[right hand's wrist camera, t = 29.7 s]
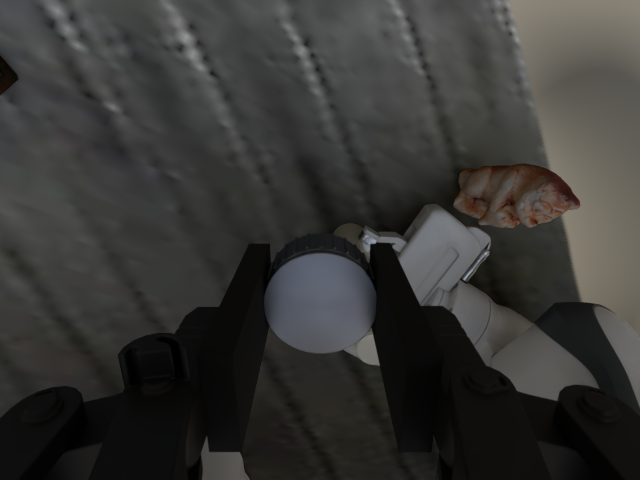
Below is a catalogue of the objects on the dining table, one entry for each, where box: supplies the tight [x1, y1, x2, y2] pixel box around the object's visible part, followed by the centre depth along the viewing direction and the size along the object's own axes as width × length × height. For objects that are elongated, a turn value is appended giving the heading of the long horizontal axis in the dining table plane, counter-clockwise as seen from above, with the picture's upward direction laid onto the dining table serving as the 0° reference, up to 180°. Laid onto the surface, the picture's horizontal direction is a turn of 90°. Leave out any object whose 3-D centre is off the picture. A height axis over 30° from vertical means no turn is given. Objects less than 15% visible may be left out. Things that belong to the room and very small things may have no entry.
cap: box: [264, 232, 377, 354], centre depth 14 cm, size 4×4×2 cm
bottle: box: [333, 223, 379, 365], centre depth 39 cm, size 5×5×24 cm
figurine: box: [454, 164, 580, 228], centre depth 41 cm, size 6×8×15 cm
